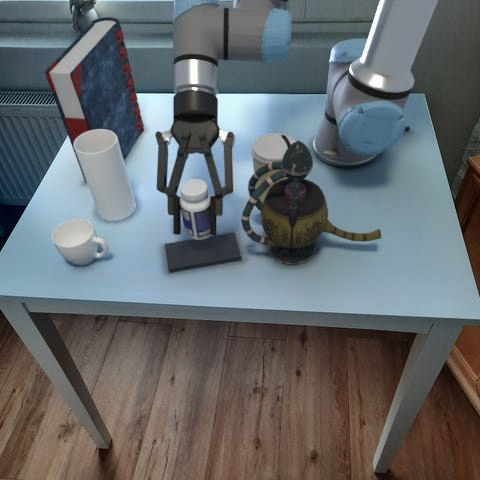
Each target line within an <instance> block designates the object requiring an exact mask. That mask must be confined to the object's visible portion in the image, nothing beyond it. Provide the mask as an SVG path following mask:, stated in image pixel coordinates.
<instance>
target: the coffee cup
mask: <svg viewBox="0 0 480 480" xmlns="http://www.w3.org/2000/svg"><path fill="white" fill-rule="evenodd" d="M281 135H285V136H286V137H287V138H288V140H289V142H290V144H291V145H292V144H293V143H294V142H296V141H297V140H296V139H295V138H294V137H293V136H291V135H289V134H286V133H281V132H271V133H266V134H263V135H261V136H259V137H257V138H256V139H254V142H253V144H252V145H251V149H250V150H251V155H252V164H253V165H252V167H253V174H254V173H255V172H256V171H257V170H258V169H259V168H260V167H262V166H264V165H266V164H268V163H271V162H275V161H282V159H283V156H284V154H285V152H286V150H287V149H288V147H287V144H286V142H285V141H284V139H283V138H282V137H281ZM278 171H280V170H273V171H269V172H268V173H266V174H264V175H262V176H261V178H260V179H259V180H258V181H257V183H256V186H255V190H256V189H257V188H258V187H259V186H260V185H261V183H262V182H263V181H265V180H266V179H267V178H268V177H270V176H271V175H273V174H274V173H276V172H278ZM285 179H288V178H287V177H286V178H285V177H284V178H282V179H280V180H278V181H276V182H275V183H277V182H279V181H281V180H285ZM275 183H274V184H275ZM274 184H272V185H271V186H270V187H268V188H267V190H266V191H265V192H264V193H263V194H262V195H261V196H260V197H259V199H260V201H261V202H262V203H263V201H264V199H265V197H266V194H267V192H268V191H269V189H270V188H271V187H272V186H273V185H274Z"/></svg>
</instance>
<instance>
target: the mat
mask: <svg viewBox="0 0 480 480" xmlns="http://www.w3.org/2000/svg"><path fill="white" fill-rule="evenodd" d="M164 249H165V255H166V262H167V269H168V273H169V274H171V273H176V272H182V271H187V270H193V269H199V268H205V267H210V266H215V265H221V264H226V263H232V262H238V261H242V254H241V250H240V247H239V243H238V240H237V236H236V233H235V231H232V232H227V233H226V232H225V233H221V234H216V235H211V236H210V237H208V238H206V239H202V240H195V239H192V238H190V239H186V240H185V239H184V240H179V241H174V242H169V243H164Z"/></svg>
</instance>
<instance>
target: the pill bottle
mask: <svg viewBox="0 0 480 480" xmlns="http://www.w3.org/2000/svg"><path fill="white" fill-rule="evenodd" d="M179 190H180V195H181V196H180V197H181V198H180V208H181V217H182V219H181V220H182V223H183V230H184V232H185V235H186V236H187V237H188V238H190V239H195V240H202V239H206V238H208V237H210V236H212V235H210V196H211V194H210V193H209V188H208V184H207V182H206V181H205V180H203V179H200V178H190V179H188V180H185V181H184V182H183V183H181V185H180V188H179Z"/></svg>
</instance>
